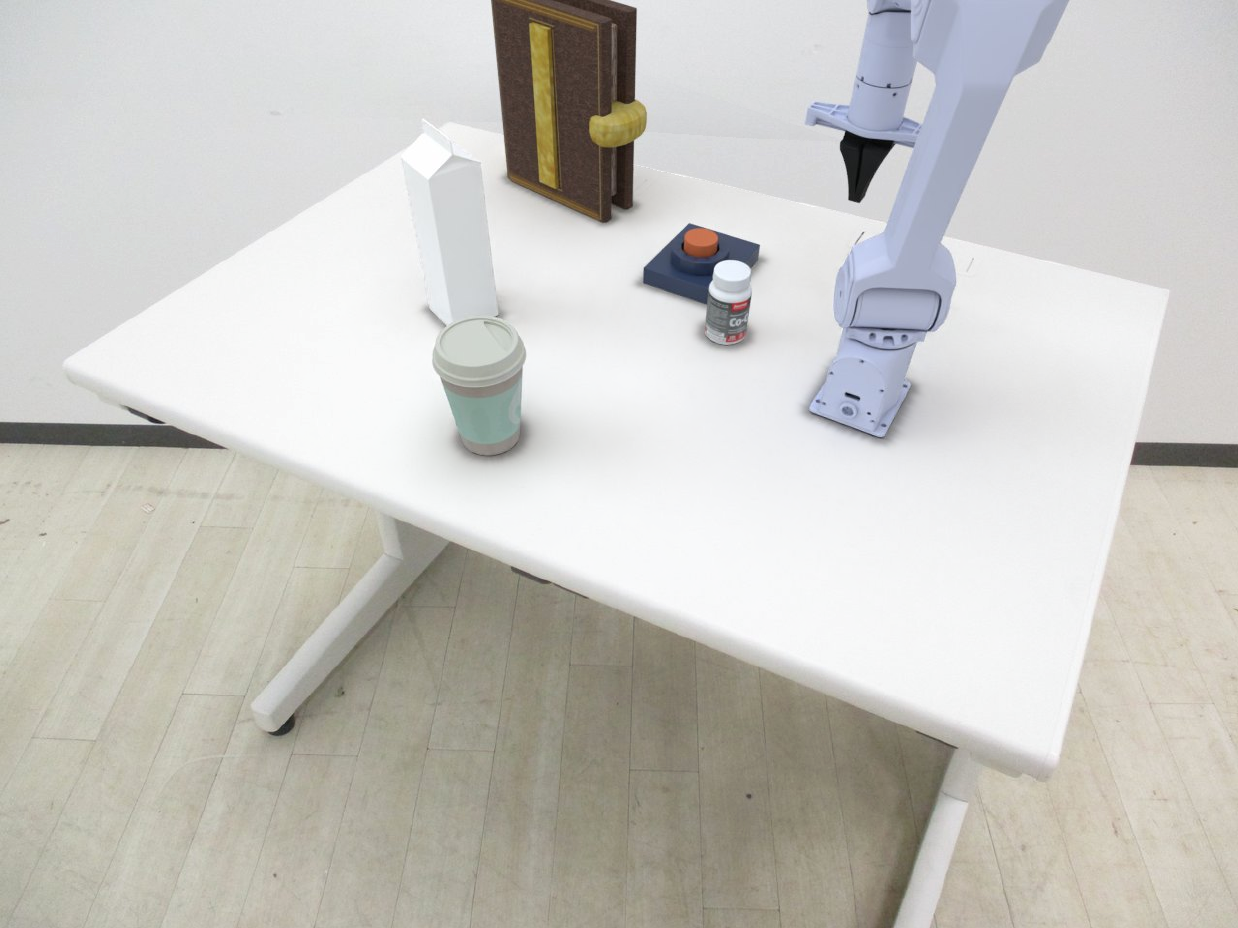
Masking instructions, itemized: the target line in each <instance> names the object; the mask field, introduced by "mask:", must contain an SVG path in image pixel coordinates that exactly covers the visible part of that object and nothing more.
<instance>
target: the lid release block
mask: <svg viewBox="0 0 1238 928" xmlns="http://www.w3.org/2000/svg"><path fill="white" fill-rule="evenodd" d="M698 228H703V229H708V230H711V231H713V232H714V233H716V234H717V236H718V244H717V252H716V254H715V255H713V256H710V257H694V256H691V255H687V254H686V253H685V252H684V236H685V234H686V233H687V232H688V231H690V230H692V229H698ZM760 249H761V244H760V243H757V242H753V241H750V240H746V239H743V238H740V237H736V236H733V235H730V234H727V233H723V232H720V231H717V230H713V229H710V228H706V227H704V226H701V225H698V224H697V225H696V224H694V223H690V222H689V223H688V224H686V226H684V227H683V229H681V230H680V232H678V233H677V234H676V235H675V236H674V237H673V238H672V239H671V240H670V241H669V242H668V243H667V244H666V245H665V246H664V247H663V248H662V249H661V250H660V251H659V252H658V253H657V254H656V255H655V256H654V257H652V259H651V260H650V261H649V262H648V263H646V264H645V266H644V267H643V274H642V277H643V278H642V283H643V284H645V285H649V286H650V287H654V288H657V289H660V290H663V291H666V292H669V293H672V294H676V295H678V296H681V297H683V298H687V299H690V300H692V301H695V302H698V303H702V304H704V305H707V301H708V291H709V285H710V283H711V282H712V280H713V272H714V267H715V266H716V265H717V264H718V263H719V262H722V261H726V260H736V261H740V262H743V263H745V264H746V265H748V266H749V267H750V269H752V267H753V266H754V265H755V264H756V263H757V262H758V260H759V256H760V251H761V250H760Z"/></svg>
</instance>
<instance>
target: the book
mask: <svg viewBox="0 0 1238 928" xmlns="http://www.w3.org/2000/svg"><path fill="white" fill-rule="evenodd" d="M490 3H491V5H490V6H491V15H492V25H493V35H494V36H493V37H494V45H495V47H494V48H495V59H496V70H497V79H498V90H499V99H500V110H501V111H500V112H501V123H502V131H503V140H504V141H503V142H504V143H503V144H504V153H505V165H506V174H507V175H506V176H507V178H508V180H509V181H511V183H514V184H517V185H519V186H520V187H523V188H525V189H527V190H529V191H532V192H534V193H535V194H538V195H540V196H543V197H545V198H547V199H549V200H552V201H553V202H555V203H558V204H561V205H563V206H565V207H566V208H569V209H572V210H573V211H575V212H578V213H580V214H582V215H585V216H587V217H589V218H592V219H594V220H596V221H598V222H600V223H602V224H605V223H608V222H609V221H611V220H612V218H613V217H612V216H613V214H612V212H613V210H612V207H613V206H616V207H618V208H619V209H622V210H629V209H631V208H633V207H634V168H635V167H634V166H635V165H634V164H635V141H636V140H637V139H639V138H640V137H642V135H643V134H644V133H645V131H646V128H647V122H648V112H647V108H646V106H645V105H644V104H643V103H642V102H641V101H640V100H638V99H636V75H637V73H636V71H637V70H636V67H637V24H638V23H637V19H638V17H637V16H638V8H637V7H635V6H631V5H628V4H625V3H622V2H618V1H615V0H490Z"/></svg>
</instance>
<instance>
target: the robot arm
mask: <svg viewBox="0 0 1238 928" xmlns="http://www.w3.org/2000/svg"><path fill="white" fill-rule="evenodd" d="M1069 2H1070V0H866V9H867V11H868V14H867V18H866V23H865V28H864V33H863V38H862V44H861V48H860V52H859V57H858V62H857V68H856V73H855V77H854V83H853V86H852V87H853V88H852V92H851V97H850V102H849V104H837V103H829V102H827V103H826V102H821V101H816V100H814V101H813V102H811V104H810V105H809V106H808V107H807V109H806V114H805V115H806V116H805V120H804V125H806V126H809V127H815V126H816V125H817V126H820V127H821V126H822V127H826V128H829V129H834V130H837V131H842V132H844V134H843V137H842V139H841V140H840V142H839V151H840V155H841V156H842V159H843V161H844V166H845V170H846V176H847V188H848V189H847V190H848V194H847V200H848V201H850V202H853V203H857V204H860V203H861V202H862V201H863V199H865V197H866V194H867V192H868V189H869V187H870V185H871V182H872V181H873V179H874V177H875V175H876V173H877V172H878V170H879V168H880V166H881V165H882V163H883V162H884V160H885V159H886V158H887V156H888V155H889V153H890V152H891V151H892V150H893V148H894V147H895V146H896V145H897V146H898V145H899V146H903V147H907V148H911V149H912V151H911V154H910V158H909V160H908V163H907V165H906V169H905V172H904V175H903V176H902V180H901V183H900V186H899V188H898V191H897V193H896V197H895V199H894V202H893V204H892V208H891V211H890V214H889V217H888V219H887V222H886V225H885V228H884V230H883V231H882V232H880V233H879V234H876V235H873V236H871V237H869V238H867V239H865V240H863V241H860V242H859V243H857V244H854V245H853V246H852V247H851V249H850V251H849V253H848V254H847V256H846V259H845V260H844V263H843V264H842V265H841V266H840V267H839V269H838V271H837V274H836V278H835V283H834V289H833V304H832V306H833V307H832V310H833V318H834V321H835V322H836V323H837V325H838V326H839V327H840V328H842V330H841V334H840V338H839V343H838V347H837V351H836V354H835V357H834V358H833V360H832V361H831V363H830V365H829V367H828V370H827V372H826V373H827V374H826V378H825V382H824V383H823V385H822V386H821V387H820V389H819V391H818V392H817V394H816V395H815V397H814V398H813V400H812V402H811V404H810V405H809V409H808V410H809V411H810V412H811V413H813V414H815V415H818V416H821V417H824V418H826V419H830V420H832V421H835V422H837V423H840V424H842V425H845V426H847V427H851V428H853V429H856V430H859V431H862V432H864V433H867V434H870V435H873V436H875V437H878V438H884V437H885V435H886V433H887V432H888V430H889V428H890V426H891V425H892V423H893V420H894V419H895V417H896V415H897V413H898V412H899V410H900V407H901V406H902V404H903V402H904V400H905V398H906V396H907V394H908V392H909V391H910V389H911V386H912V383H911V382H910V381H909V380H906V377H907V373H908V371H909V368H910V364H911V362H912V360H913V356H914V353H915V350H916V347H917V344H918V343H923V342H925V340H926V337H927V333H928V332H929V333H934V332H937V331H938V330H939V329H940V328H941V326H942V325H943V324H944V323H945V322H946V320H947V318H948V315H949V311H950V309H951V304H952V303H951V302H952V297H953V294H954V291H955V289H956V285H957V273H956V272H957V271H956V266H955V261H954V258H953V254H952V252H951V251H950V250H949V249H948V247H947V246H945V245H944V244H943V243H942V241H943V238H944V236H945V233H946V232H947V229H948V227H949V224H950V222H951V220H952V217H953V215H954V213H955V211H956V209H957V206H958V205H959V202H960V200H961V198H962V195H963V193H964V191H965V188H966V186H967V184H968V181H969V179H970V177H971V175H972V172H973V170H974V168H975V165H976V163H977V162H978V159H979V156H980V154H981V152H982V150H983V147H984V145H985V143H986V141H987V138H988V136H989V134H990V132H991V130H992V127H993V125H994V122H995V120H996V118H997V116H998V113H999V111H1000V109H1001V107H1002V104H1003V102H1004V100H1005V99H1006V96H1007V93H1008V91H1009V89H1010V87H1011V84H1012V82H1013V80H1014V78H1015V77H1016V76H1018V75H1019V74H1021V73H1023V72H1024V71H1025V72H1026V71H1027V70H1028V69H1030V68H1032V67H1034V66H1035V65H1037V64H1039V63H1040V61H1041V60H1042V57H1043V56H1044V53H1045V51H1046V49H1047V47H1048V45H1049V44H1050V42H1051V41H1052V39H1053V37H1054V34H1055V31H1056V30H1057V28H1058V26H1059V23H1060V21H1061V19H1062V17H1063V15H1064V13H1065V11H1066V9H1067V6H1068V5H1069ZM917 63H919V64H920V65H921V66H923V67H924V68H926V69H927V70H928V71H929V72H930V73H932V74H933V75H934V83H935V87H934V90H933V93H932V95H931V98H930V101H929V103H928V106H927V110H926V111H925V114H924V117H923V120H922V123H920V122H918V121H915V120H913V119H911V118H908V117H906V116H905V111H906V108H907V103H908V100H909V95H910V92H911V87H912V83H913V81H914V80H913V79H914V75H915V72H916V69H917V68H916V67H917Z"/></svg>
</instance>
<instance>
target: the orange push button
mask: <svg viewBox="0 0 1238 928" xmlns="http://www.w3.org/2000/svg"><path fill="white" fill-rule="evenodd" d="M708 229H709V228H707V229H703V228H698V229H692V230H690V231H688V232H687V233H686V234H685V236H684V252H685V253H686V254H687V255H691V256H694V257H710V256H713V255H715V254H716V252H717V244H718V236H717V234H716V233H714V232H713V231H711V230H712V229H710V230H708Z"/></svg>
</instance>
